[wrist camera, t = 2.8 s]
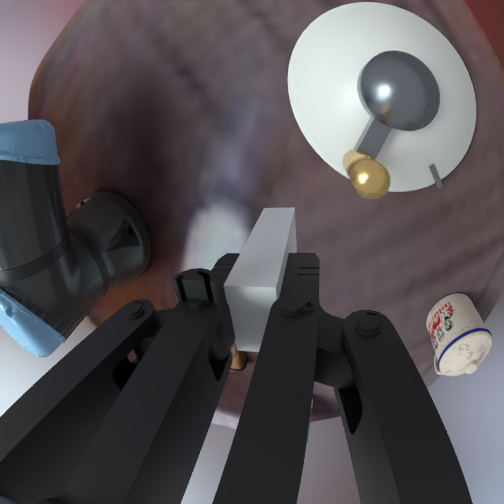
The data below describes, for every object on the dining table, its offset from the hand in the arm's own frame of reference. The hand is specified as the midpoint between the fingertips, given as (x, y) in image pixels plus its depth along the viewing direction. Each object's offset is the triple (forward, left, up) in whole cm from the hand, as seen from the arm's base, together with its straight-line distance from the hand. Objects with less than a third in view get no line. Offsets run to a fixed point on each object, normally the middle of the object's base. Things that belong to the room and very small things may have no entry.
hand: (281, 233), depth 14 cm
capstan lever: (+5, +9, -16) cm, 19 cm away
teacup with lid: (+32, -8, -18) cm, 38 cm away
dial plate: (+5, +13, -18) cm, 23 cm away
